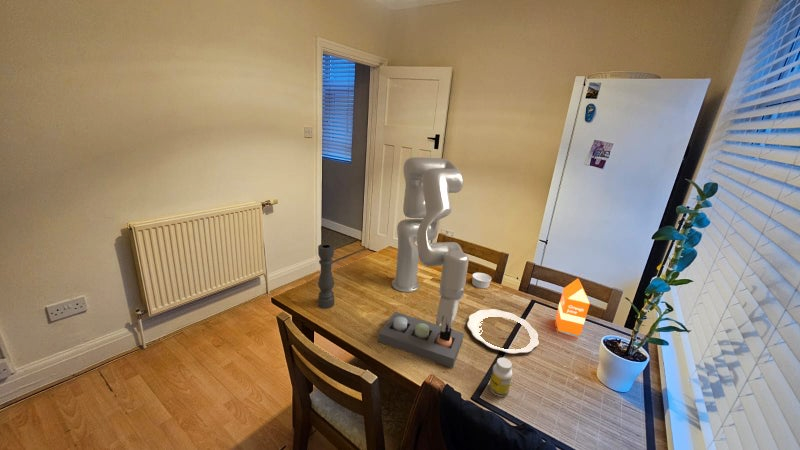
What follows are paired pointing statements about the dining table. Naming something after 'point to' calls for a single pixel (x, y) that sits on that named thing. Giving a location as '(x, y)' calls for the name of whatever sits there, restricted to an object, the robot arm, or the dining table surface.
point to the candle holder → (326, 276)
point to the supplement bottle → (501, 377)
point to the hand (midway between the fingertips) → (444, 338)
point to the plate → (482, 314)
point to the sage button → (422, 331)
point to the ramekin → (481, 280)
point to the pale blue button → (400, 324)
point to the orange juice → (572, 308)
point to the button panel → (421, 341)
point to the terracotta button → (444, 342)
